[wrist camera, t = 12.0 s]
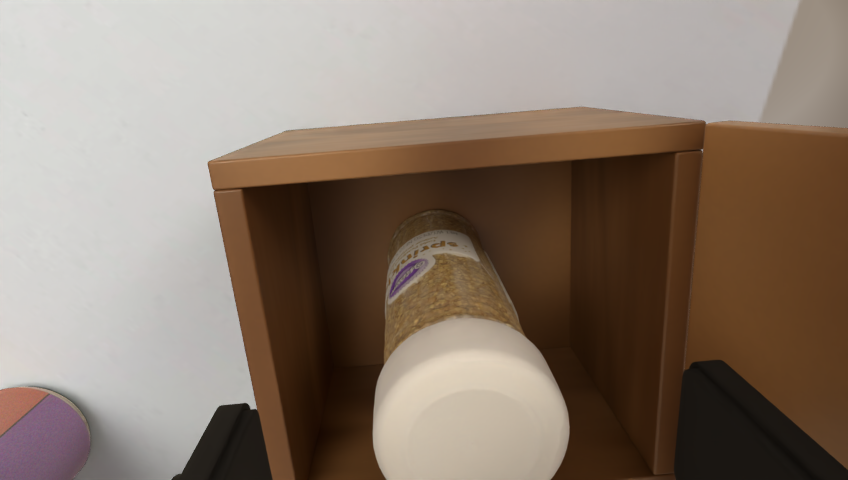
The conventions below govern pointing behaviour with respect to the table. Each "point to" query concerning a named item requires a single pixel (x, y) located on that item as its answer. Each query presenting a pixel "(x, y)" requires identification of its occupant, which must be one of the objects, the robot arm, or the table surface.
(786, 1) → the table surface
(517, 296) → the brown wooden open box
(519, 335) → the sprinkles bottle
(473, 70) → the table surface
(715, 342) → the wooden box lid
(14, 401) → the beverage can
